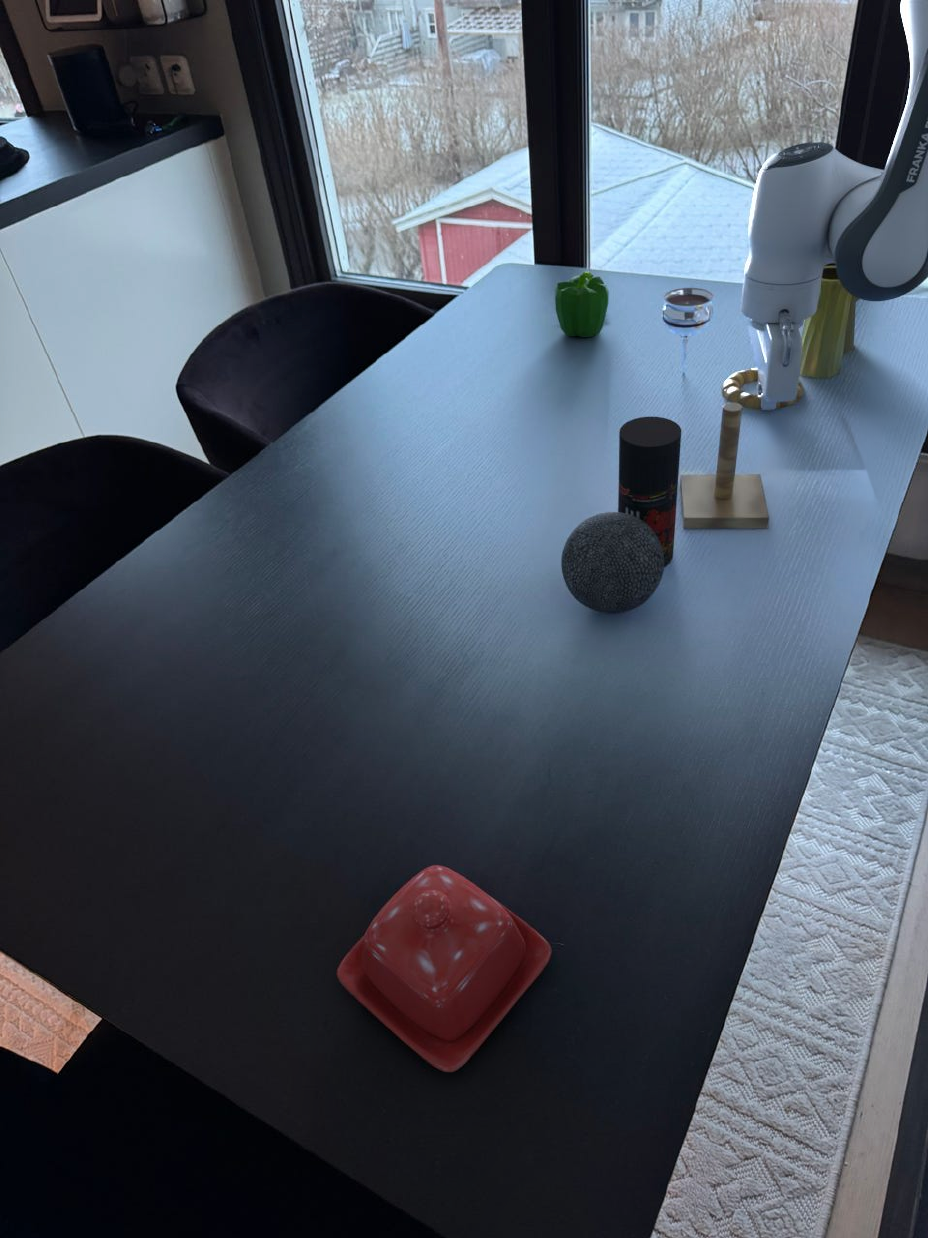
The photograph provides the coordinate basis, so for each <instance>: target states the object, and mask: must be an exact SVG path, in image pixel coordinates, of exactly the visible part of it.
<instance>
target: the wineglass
mask: <svg viewBox="0 0 928 1238" xmlns="http://www.w3.org/2000/svg"><path fill="white" fill-rule="evenodd" d="M662 298H663V301H664V304H663V306H662V309H661V319H662V322H663V324H664V326H665V327H666V328H667V329H668V330H669V331H670V332H671V333H673V334H674V335H677V336H679V337H680V338H681V339H682V352H681V353H682V356H681V357H682V359H681V360H682V361H681V374H683V375H684V374H686V366H687V359H688V358H687V357H688V349H689V340H690V339H691V338H692V337H693V336H694V335H697V334H700V333H701V332H702V331H703V330H704V329H707V327H708V326H709V325H710V323H711V321H712V319H713V315H714V305H713V303H712V302H713V301H714V299H715V294H714V293H713V292H712V291H710V290H708V289H706V288H701V287H693V286H692V287H690V286H689V287H680V288H679V287H678V288H675V289H671V290H669V291H667V292H665V293H664V294H663V297H662Z"/></svg>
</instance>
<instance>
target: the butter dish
mask: <svg viewBox="0 0 928 1238" xmlns="http://www.w3.org/2000/svg"><path fill="white" fill-rule="evenodd" d="M552 953H553V952H552V947H551V945H550V943H549V942H548V940H546V938H544V937H543V935H541V934H540V933H539V932H538V931H537V930H536V929H535V928H533V927H532V926H530V925H529V924H528V923H527V922H526V921H524V920H523V919H522V918H520V917H519V916H518V915H517V914H515V913H514V912H513V911H512V910H509V909H508V908H507V907H506V906H505V905H504V904H502V903H500V902H499V901H498V900H496V898H494V897H493V896H491V895H489V894H488V893H487V892H485V891H484V890H482V889H481V888H480V887H479V886H477V885H476V884H475V883H473V882H472V881H470V880H469V879H467V878H465V876H463V875H461V874H460V873H458V872H456V871H455V870H453V869H451V868H449V867H446V866H444V865H439V864H434V865H430V866H428V867H426V868H424V869H422V870H421V871H420V872H418V873H417V874H416V875H415V876H413V877H412V878H411V879H410V880H409V881H407V882H406V883H405V884H404V885H403V886H402V887H401V888H400V889H399V890H397V892H396V893H395V894H394V895H393V896H392V897H391V898H390V899H389V900H388V901H386V903H385V904H384V906H383V907H382V908H381V909H380V910H379V912H378V913H377V914H376V916H375V917H374V918H373V920H372V921H371V923H370V924H369V926H368V928H367V929H366V931H365V933H364V935H363V936H362V937H361V938H360V939H359V940H358V941H357V942H356V943H355V944H354V945H353V946H352V948H351V949H350V951H348V952H347V954H346V955H345V957H344V958H343V960H342V961H341V963H340V964H339V966H338V967H337V970H336V977H337V979H338V982H340V984H341V985H342V986H343V987H344V988H345V989H346V990H347V991H348V993H349V994H350V995H351V996H353V997H354V998H355V999H356V1000H357V1001H358V1002H359V1003H360V1004H361V1005H362V1006H363V1007H365V1008H366V1009H367V1010H368V1011H369V1012H370V1013H371V1014H372V1015H373V1016H375V1017H376V1018H377V1019H378V1021H380V1022H381V1023H382V1024H383V1025H384V1026H385V1027H386V1028H388V1030H390V1031H391V1032H392V1033H393V1034H394V1035H395V1036H396V1037H398V1038H399V1039H400V1040H401V1041H402V1042H403V1043H405V1045H407V1046H408V1047H409V1048H410V1049H411V1050H412V1051H414V1052H415V1053H416V1054H417V1055H418V1056H420V1057H421V1058H422V1059H423V1060H424V1061H426V1062H427V1063H429V1065H431V1066H432V1067H434V1068H436V1069H438V1070H439V1071H442V1072H444V1073H454V1072H456V1071H458V1070H459V1069H460V1068H462V1067H463V1066H464V1065H465V1064H466V1063H467V1061H469V1060H470V1058H472V1056H473V1055H474V1054H475V1053H476V1052H477V1050H479V1048H480V1046H481V1045H483V1043H484V1042H485V1040H487V1038H488V1037H489V1035H490V1034H491V1033H492V1032H493V1031H494V1029H496V1028H497V1026H498V1025H499V1024H500V1023H501V1022H502V1020H503V1019H504V1018H505V1017H506V1015H507V1014H508V1013H509V1012H510V1011H511V1009H512V1008H513V1007H514V1006H515V1004H516V1003H517V1002H518V1001H519V999H520V998H521V997H522V996H523V995H524V993H525V992H526V991H527V990H528V988H529V987H530V986H531V985H532V984H533V983H534V982H535V980H536V979H537V978H538V977H539V976H540V975H541V974H542V972H543V971H544V970H545V968H546V966H547V964H548V963H549V961H550V958H551V956H552Z"/></svg>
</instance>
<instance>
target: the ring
mask: <svg viewBox="0 0 928 1238" xmlns="http://www.w3.org/2000/svg"><path fill="white" fill-rule="evenodd" d="M755 382H756V383H758V370H757V367H752V368H750V367H749V368H746V369H743V370H740V371H736V372H734V373H732V374H731V375H729V376H728V378H726V379H725V380H724V381H723V382H722V384H721V387H720V389H721V396H722V397H723V398H724V399H725V400H726V401H728V402H729V403H738V404H740V405H742V408H746V409H752V410H755V411H756V410H758V411H759V410H763V409H762V408H761V403H760V401H761V395H758V394H754V393H750V392H746V391H744V390H743V389H742V388H743V387H744V386H745V385H748V384H751V383H755ZM804 395H805V390H804V387H803V384H802V381H801V379H800V378H799V383H798V391H797V395H796V397H795V399H794V400H793V401H787V402H777V403H776V408H775V409H774V410H778V409H780V410H781V409H782V408H786V407H789V406H792V405H796V404H797V403H798V402H799V401H800V400H801V399H802V398H803V397H804Z"/></svg>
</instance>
